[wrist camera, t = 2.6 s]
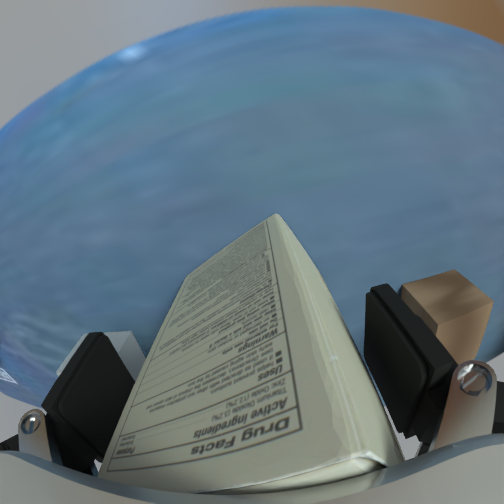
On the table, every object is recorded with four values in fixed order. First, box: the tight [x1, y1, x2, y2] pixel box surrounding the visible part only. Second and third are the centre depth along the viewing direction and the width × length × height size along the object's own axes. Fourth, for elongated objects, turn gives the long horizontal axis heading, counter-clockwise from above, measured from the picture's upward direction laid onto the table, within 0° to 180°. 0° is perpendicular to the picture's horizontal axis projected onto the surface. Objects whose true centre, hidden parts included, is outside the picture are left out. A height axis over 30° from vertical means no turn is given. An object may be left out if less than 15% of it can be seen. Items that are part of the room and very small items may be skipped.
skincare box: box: [97, 214, 405, 495], centre depth 9 cm, size 6×4×12 cm
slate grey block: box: [56, 331, 146, 382], centre depth 15 cm, size 4×4×4 cm
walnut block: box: [401, 269, 494, 365], centre depth 13 cm, size 4×4×4 cm
